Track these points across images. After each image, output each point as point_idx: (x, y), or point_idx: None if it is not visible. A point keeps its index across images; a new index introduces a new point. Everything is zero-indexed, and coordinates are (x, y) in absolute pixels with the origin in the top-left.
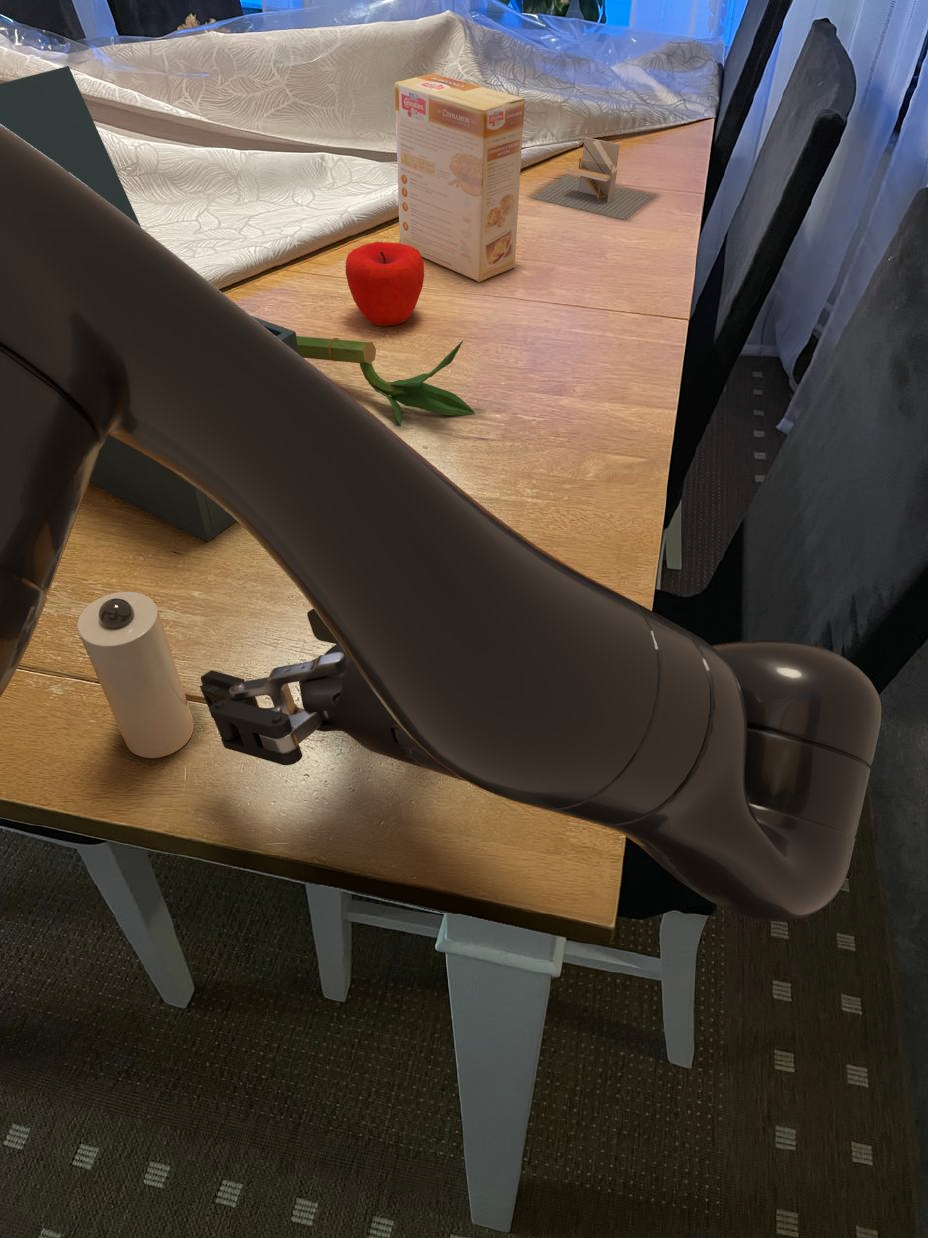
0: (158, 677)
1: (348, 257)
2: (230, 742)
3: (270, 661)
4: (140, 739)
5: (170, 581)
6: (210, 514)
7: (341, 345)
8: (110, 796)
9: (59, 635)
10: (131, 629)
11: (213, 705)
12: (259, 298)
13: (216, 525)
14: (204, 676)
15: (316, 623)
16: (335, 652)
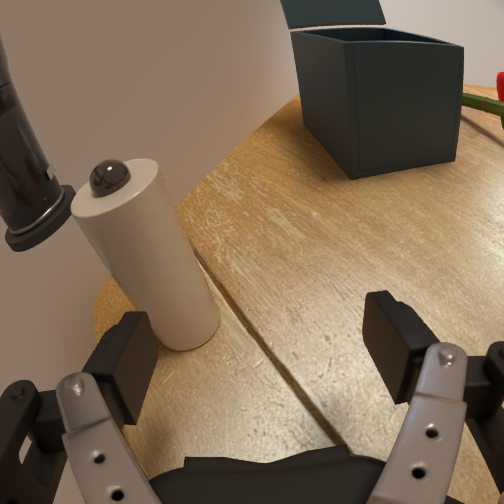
0: (137, 277)
1: (499, 73)
2: (32, 447)
3: (327, 312)
4: None
5: (303, 196)
6: (359, 156)
7: (491, 101)
8: None
9: (207, 205)
10: (101, 202)
11: (21, 383)
12: None
13: (362, 168)
14: (123, 315)
15: (370, 319)
16: (285, 494)
